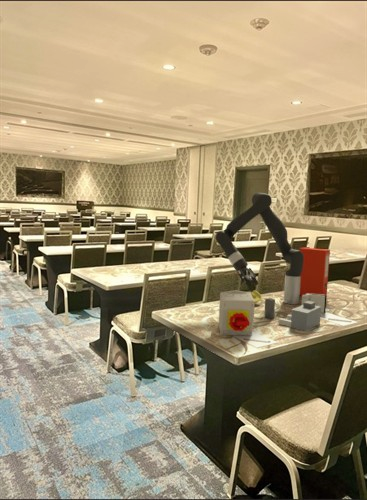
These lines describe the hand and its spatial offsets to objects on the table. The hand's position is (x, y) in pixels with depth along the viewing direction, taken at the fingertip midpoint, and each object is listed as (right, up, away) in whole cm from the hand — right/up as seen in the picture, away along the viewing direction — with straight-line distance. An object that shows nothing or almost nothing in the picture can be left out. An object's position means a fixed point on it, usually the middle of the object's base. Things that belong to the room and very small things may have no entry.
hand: (254, 285), depth 200 cm
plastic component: (-1, -14, +20) cm, 25 cm away
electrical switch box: (-14, -20, -31) cm, 39 cm away
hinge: (+35, -16, +8) cm, 39 cm away
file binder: (+47, -12, +44) cm, 66 cm away
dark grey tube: (+7, -17, -4) cm, 19 cm away
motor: (+22, -18, -12) cm, 31 cm away
